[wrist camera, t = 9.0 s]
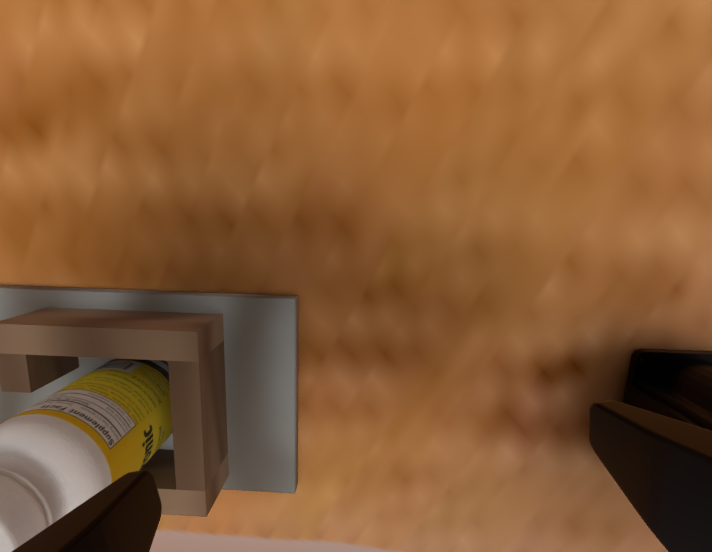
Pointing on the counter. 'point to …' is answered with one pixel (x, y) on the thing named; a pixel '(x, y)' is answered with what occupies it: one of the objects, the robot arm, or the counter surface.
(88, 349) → the pocket
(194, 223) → the counter surface
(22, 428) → the supplement bottle
